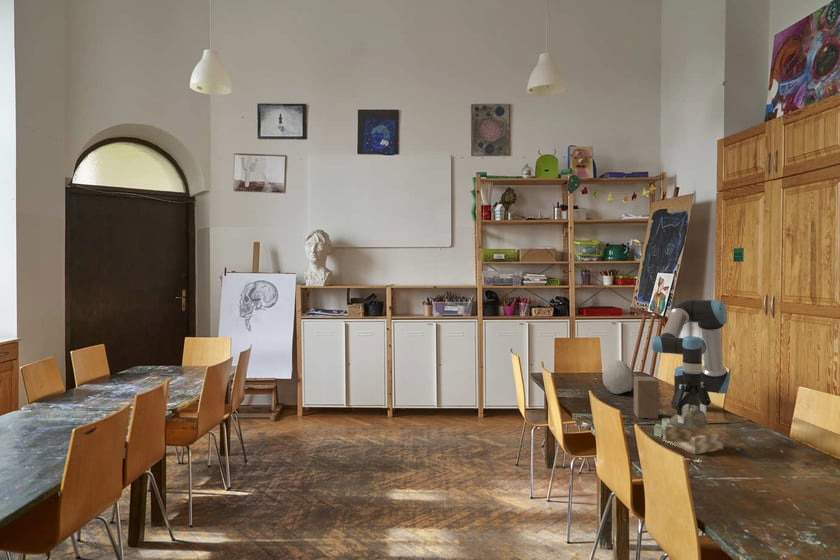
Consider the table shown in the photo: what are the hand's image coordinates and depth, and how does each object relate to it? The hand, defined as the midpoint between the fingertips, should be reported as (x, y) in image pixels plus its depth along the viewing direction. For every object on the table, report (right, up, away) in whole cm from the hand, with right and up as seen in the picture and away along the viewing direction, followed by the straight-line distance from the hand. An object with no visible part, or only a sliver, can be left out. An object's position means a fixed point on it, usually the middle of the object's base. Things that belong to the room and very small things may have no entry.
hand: (692, 421), depth 224 cm
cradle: (0, -11, 0) cm, 11 cm away
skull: (+6, -9, +98) cm, 98 cm away
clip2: (-9, -10, +13) cm, 19 cm away
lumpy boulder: (-1, -4, 0) cm, 4 cm away
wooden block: (-1, -10, +45) cm, 46 cm away
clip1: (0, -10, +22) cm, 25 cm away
